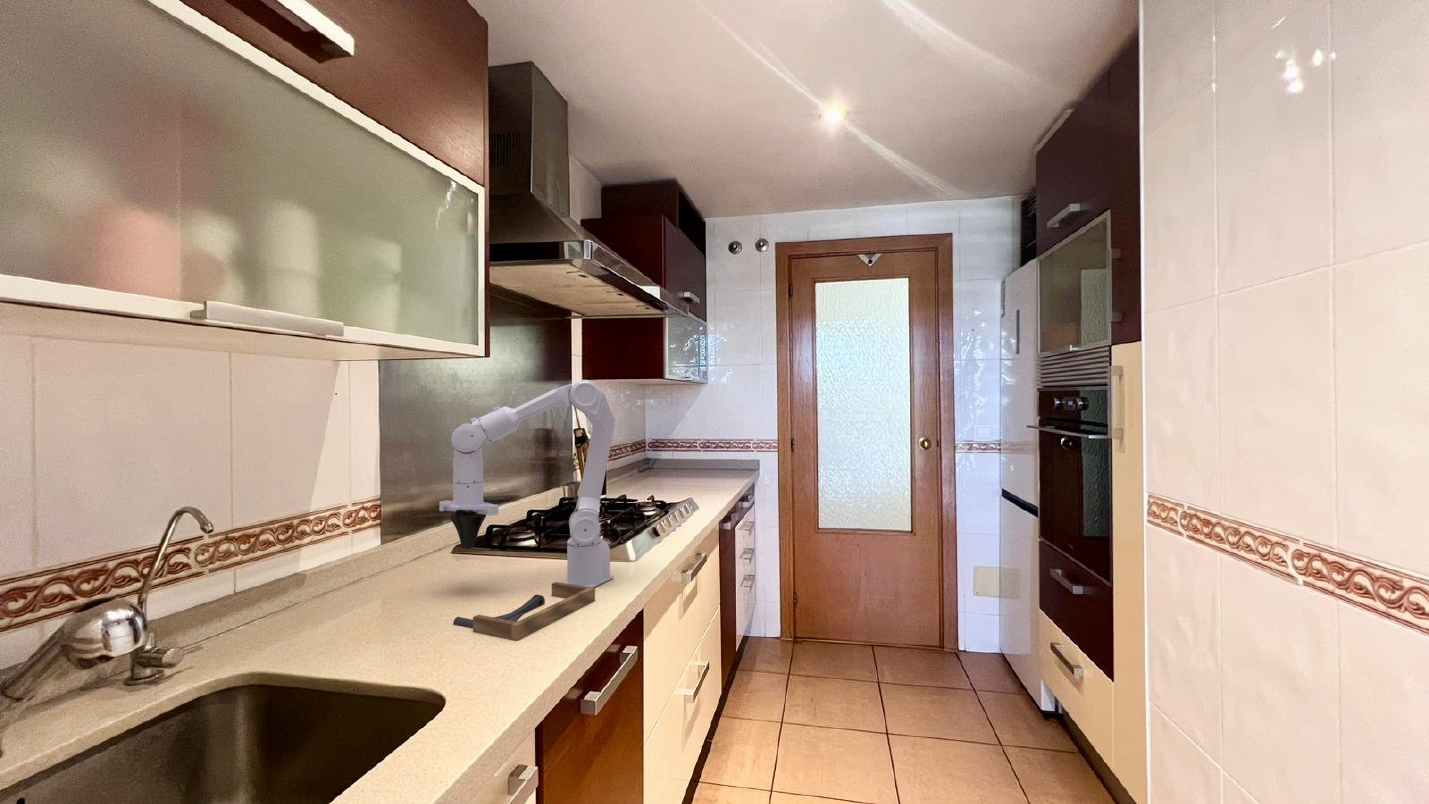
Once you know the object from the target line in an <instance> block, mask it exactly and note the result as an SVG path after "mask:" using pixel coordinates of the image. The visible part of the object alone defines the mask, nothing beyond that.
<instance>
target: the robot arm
mask: <svg viewBox="0 0 1429 804" xmlns="http://www.w3.org/2000/svg"><path fill="white" fill-rule="evenodd" d="M570 403H571V405H572V406H573V407H574V408H576V409H577V410H578V411H580V412H581V413H583V415H584V416H585V417H586V419H587V420H588V421H589V423H590V424H591V426H592V428H591V434H590V437H589V442H588V449H587V453H586V459H585V464H584V469H583V475H582V481H581V485H580V489H579V494H578V499H577V502H576V504H575V505H576V506H575V509H574V511H573V512H572V513H571V514H570V516H569V520H568V525H569V533H570V534H569V535H570V537H569V538H568V540H566V541H567V543H566V544H567V547H566V548H567V549H566V550H567V554H566V555H567V559H566V560H567V565H566V567H567V569H566V571H567V572H566V573H567V574H566V575H567V577H566V578H567V579H566V580H563V581H561V582H559V583H566V584H573V585H579V586H586V587H593V588H596V587H598V586H599V585H602V584H604V583H606V582H608V581H610V580H612V579H613V578H614V575H611V549H610V546H609V543H608V542H607V541H606V540H605V539H603V538H601V536H600V534H601V524H600V521H599V514H600V509H601V505H600V504H601V497H602V493H603V492H602V491H603V486H604V481H605V476H606V472H607V467H608V462H609V461H608V460H609V455H610V450H611V445H612V440H613V435H614V430H615V425H616V417H614V414H613V412H612V409H611V407H610V405H609V402H608V401H607V397H606V394H605V392H604V391H603V390H602V389H601V388H600V387H599V385H598V384H596V383H595V382H594V381H592V380H588V379H582V380H579V381H577V382H575V383H574V384H573V385H572V383H570V384H567V385H563V386H561V387H556V388H554V389H552V390H549V391H548V392H546V393H545V392H544V394H542V395H540V396H538V397H536V398H534V399H532V400H530V401H527V402H525V403H523V404H522V405H521V404H520V405H519V406H517V407H515V408H512V407H509V406H506V405H504V406H502V407H500V406H499V405H498V406H496V407H492V411H491V412H489V413H486V414H485V415H482V416H481V417H478V418H477V417H473V418H470V421H471V423H461V425H460V426H458V427H456V428H455V429H454V431H453V432H452V434H451V438H450V439H451V444H452V446H453V448H454V449H453V460H452V461H453V462H452V463H453V465H452V467H453V468H452V469H453V470H452V474H453V476H452V478H453V479H452V480H453V481H452V483H453V487H452V488H453V490H452V491H453V492H452V495H453V498H452V500H441V501H439V508H438V509H439V512H445V511H448V512H455V513H454V514H451V515H450V516H449V519H450V521H451V522H452V524H453V526H454V528H455V529H456V532H457V535H458V538H459V541H460V544H461V548H462V549H464V550H469V549H471V548H472V549H473V548H475V546H476V542H477V538H478V535H479V532H480V529H481V526H482V525H483V523H484V521H485V519H486V517H487V516H496V515H499V504H494V503H490V502H488V501H487V502H485V501H484V459H483V445H484V444H492V443H493V442H495V441H497V440H500V439H502V438H504V437H506V436H508V435H510V434H513V433H514V432H517V431H518V429H519V427H520V424H521V423H522V422H523V421H525V420H528V419H530V418H533V417H534V416H537V415H539V414H542V413H543V412H546V411H548V410H551V409H553V408H555V407H570Z"/></svg>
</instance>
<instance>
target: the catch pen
mask: <svg viewBox="0 0 1429 804" xmlns="http://www.w3.org/2000/svg"><path fill="white" fill-rule="evenodd" d="M551 596H552V597H556V598H563V599H562V600H560V601H558V602H556V603H554V604H551V605H549V606H547V607H545V608H543V609H541V610H539V611H537V612H535V613H533V614H530V615H528V616H525V617H524V618H522V619H520V620H517V621H516V622H514V621H509V620H504V619H499V618H494V617H495V616H493V617H492V616H487V615H482V614H476V615H474V616H473V617H472V619H473V628H472V632H473V633H478V634H483V635H488V636H493V637H496V638H497V637H498V638H501V639H502V638H503V639H507V640H512V641H516V642H518V641H520V640H521V639H523V638H526V637H527V636H529V635H531V634H533V633H536V632H537V631H538V630H540V629H542V628H545V627H546V626H549V625H550V624H552V623H555V622H556V621H558V620H560V619H562V618H564V617H566V616H568V615H569V614H572V613H573V612H575V611H577V610H579V609H581V608H583V607H586V606H587V605H590V604H591V603H593V602H595V601H596V587H586V586H579V585H573V584H566V583H560V582H558V581H554V582H552V583H551Z"/></svg>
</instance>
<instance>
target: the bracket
mask: <svg viewBox="0 0 1429 804" xmlns="http://www.w3.org/2000/svg"><path fill="white" fill-rule="evenodd" d="M545 603H546V599H545V597H544V596H543V595H541V594H535V595H533V596H532V597H531V598H530V599H528V600H527V601H526V602H525V603H523V604H522V605H521V606H520V607H518V608H516V609H514V610H513V611H511V612H509V613H506V614H500V615H498V616H493V617H494V618H499V619H504V620H509V621H514V622H518V621H519V619H520V617H522V616H523V615H524V614H527V613H529V612H531V611H533V610H535V609H537V608H540V607H541V606H544V605H545ZM452 624H453V625H454V626H459V627H464V628H468V629H473V618H466V617H462V616H455V618H454V619H453V623H452Z"/></svg>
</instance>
